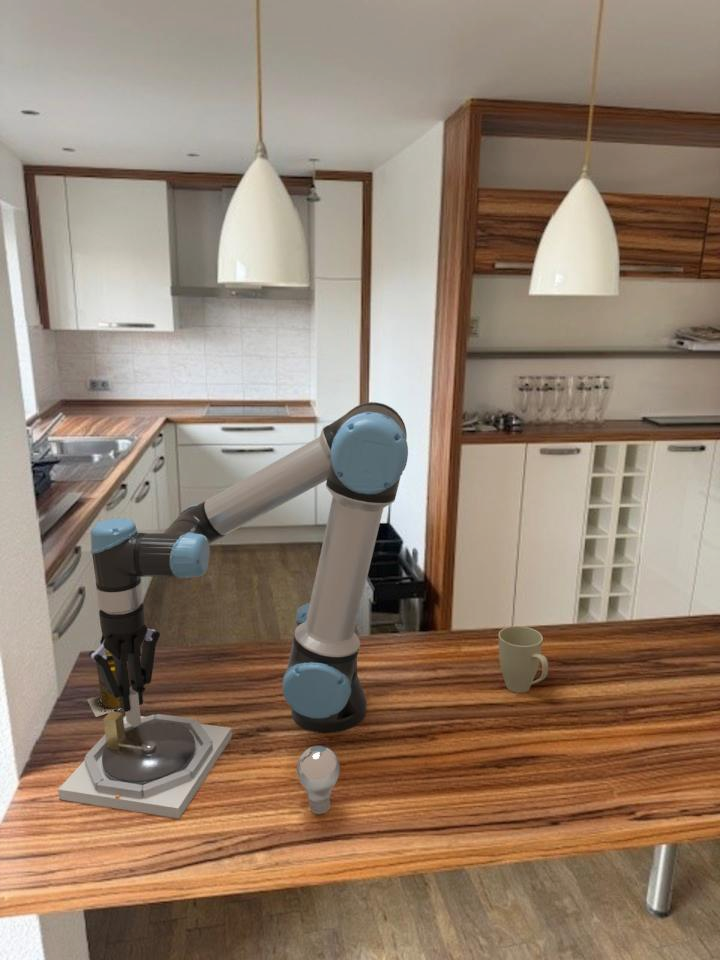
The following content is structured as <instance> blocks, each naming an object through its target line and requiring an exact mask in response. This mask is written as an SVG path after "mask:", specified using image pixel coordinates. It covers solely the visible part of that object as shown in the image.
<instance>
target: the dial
mask: <svg viewBox="0 0 720 960" xmlns="http://www.w3.org/2000/svg"><path fill="white" fill-rule="evenodd" d="M123 718H124V715H123V712H119V711H114V712H112V711H110V712H109V713H107V715H105V717H104V718H103V728H104V735H105V737H106V745H107V747H106V749H105V750H104V753H103V756H102V764H103V770H104V772H105V774H106V775H107V776H108V777H109V778H110V779H111V780H113V781H119V782H126V783H133V784H139V785H145V784H147V783H150V782H153V781H155V780H158V779H161V778H163V777H166V776H169V775H171V774H174V773H177V772H179V771H182V770H183V769H184V768H185V767H186V766H187V765H188V764H189V763H190V762H191V761H192V759H193V757H194V754H195V750H196V749H195V739H194V736H193V734H192V733H191V732H190V731H189V730H188V729H186V728H184V727H182V726H180V725H176V724H171V723H152V724H146V725H142V726H138V727H135V728H133V729H130V730H128V731H126V732H125V729H124V720H123Z"/></svg>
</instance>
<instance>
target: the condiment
mask: <svg viewBox="0 0 720 960" xmlns="http://www.w3.org/2000/svg"><path fill="white" fill-rule="evenodd" d="M106 655H107V659H106V661H107V662H108V664H109V666H110V668H111V671H112V673H113V676H114V678H115V680H116V674H115V665H114V659H113V657H112V654H111V653H110V652H109V651H107V650H106ZM127 668H128V662H127ZM96 669H97V675H98V676H97V677H98V684H99V685H98V686H99V692H100V695H98V696H96V697H91V698H88V699H86V700H87V703H88V704H89V705H88V706H89V707H90V709H91V711H92V712H93V715H94V717H95V718H98V717H100V716H104V715H106V714H108V713H109V712H110V711H111V710H110V709H118V710H117V711H120V709H121V707H120V698H119V697H118V698H115V697H114V696H112V695H111V694H110V693H108V691H107V688H106V686H105V684H104V681H103V679H102V676H101V674H100V672H99V669H98V667H97V666H96ZM128 677H129V669H128ZM129 687H131V688H132V686H131V685H130V678H129ZM100 699H101V701H102V702H101V701H100ZM98 701H99V702H98ZM99 704H100V705H99ZM101 704H102V705H101ZM101 708H102V709H103V708H105V710H106V709H107V711H106V712H104V711H105V710H104V709H103V710H102V712H101V711H99V710H100V709H101ZM98 709H99V710H98ZM108 710H109V711H108ZM121 710H122V709H121ZM112 712H115V711H114V710H112Z"/></svg>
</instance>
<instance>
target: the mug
mask: <svg viewBox="0 0 720 960" xmlns="http://www.w3.org/2000/svg"><path fill="white" fill-rule="evenodd" d="M543 641H544V640H543V635H542V633H540V632H539V631H538V630H536V629H534V628H531V627H528V626H521V625H512V626H507V627H503V628H502V629H500V631H498V652H499V653H498V655H499V666H500V668H501V674H502V676H503V679H504V683H505V686H506V688H507V689H508V691H511V692H512V693H514V694H515V693H516V694H524V693H527V692H528V691H530V690H531V686H532V685H535V684H537V683H540V682H542V681H543V680H545V678H546V677H547V675H548V673H549V662H548V659H547V657H546V656H544V654H541V653H542V647H543ZM540 663H541V669H542V670H541V676H540V677H539V678H537V679H535V676H536V675H537V672H538V670H539V667H540ZM534 679H535V680H534Z"/></svg>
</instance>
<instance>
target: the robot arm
mask: <svg viewBox="0 0 720 960" xmlns="http://www.w3.org/2000/svg"><path fill="white" fill-rule="evenodd" d="M407 433H408V432H407V429H406V425H405V422H404V420H403V417H401V415H400V414H399V413H398V412H397V411H396V409H394V408H393V407H391V406H389V405H387V404H385V403H382V402H374V401H371V402H364V403H362V404H358V405H356V406H355V407H353V408H352V409H350V410H349V411H348V412H347V413H345V414H344V415H342V416H341V417H339V418H338V419H337V420H335V421H333V422H331V423H330V424H328V425H326V426H324V427H323V428H322V429H321V431H320V435H319V436H318V437H317V438H315V439H313V440H311V441H309V442H308V443H306V444H304V445H302V446H300V447H299V448H297V449H295V450H293V451H292V452H290V453H288V454H287V455H285V456H282V457H280V459H277V460H276V461H274V462H272V463H270V464H269V465H267V466H264V467H263V468H262V469H259V470H258V471H256V472H254V473H253V474H251V475H248V476H247V477H245V478H243V479H241V480H240V481H237V482H236V483H234V484H232V485H231V486H229V487H227V488H225V489H224V490H222V491H220V492H218V493H216V494H215V495H213V496H211V497H210V498H207V499H205V500H204V501H203V502H201V503H197V504H196V503H195V504H192V505H190V506H189V507H187V508H186V509H184V510H183V511H181V512H180V513H179V514H178V516H177V518H176V519H175V520H174V521H173V522H172V523H171V524H170V525H169V527H167V528H166V529H165V531H164V532H155V533H153V532H151V533H148V532H138V528H137V525H136V523H135V522H134V520H132V519H126V518H125V517H123V518H121V517H119V518H109V519H108V518H107V519H105V520H102V521H99V522H97V523H95V525H93V526H92V528H91V530H90V542H91V543H90V544H91V545H90V546H91V548H90V554H92V563H93V564H92V565H93V570H94V578H95V588H96V597H97V605H98V608H99V611H98V615H99V616H98V617H99V623H100V630H101V634H102V635H101V638H100V645H99V646H98V647H97V649H96V650H95V651H94V650H91V651H90V652H89V653H88V657H89V658H90V659H92V661H94V662H95V664H96V668H97V667H98V669H99V672H100V674H101V676H102V679H103V681H104V684H105V686H106V688H107V691H108V693H110V694H111V695H112V696H114V697H115V698H118V697H119V698H120V707H121V710H122V711H124V712H125V713H124V714H125V716H126V722H128V723H129V724H130V725H132V726H133V727H136V726H138V725H140V724H141V716H142V715H141V708H140V707H141V706H142V705H143V703H144V696H143V693H144V692H145V690H146V687H145V686H146V685H149V684H150V683H152V677H153V669H154V662H155V654H156V646H157V643H158V642H159V641H158V640H160V639H159V638H160V636H161V633H160V632H159V631H158V630H155V629H154V628H152V627H150V628H148V626H147V624H146V616H145V605H144V603H143V602H144V595H143V587H142V586H143V585H142V577H144V578H145V577H151V578H178V579H186V578H200V577H202V576H203V575H205V573H206V572H207V570H208V566H209V563H210V557H211V556H210V555H211V554H210V551H211V550H210V544H213V543H215V542H216V541H218V540H220V539H221V538H223V537H225V536H227V535H229V534H230V533H233V532H234V531H235V530H237V529H239V528H241V527H243V526H245V525H247V524H249V523H250V522H253V521H254V520H256V519H258V518H259V517H262V516H264V515H265V514H267V513H269V512H271V511H272V510H275V509H276V508H278V507H280V506H282V505H284V504H286V503H287V502H289V501H291V500H293V499H294V498H297V497H298V496H300V495H303V494H305V493H306V492H307V491H310V490H311V489H313V488H315V487H317V486H319V485H321V484H322V483H325V482H326V484H325V486H326V489H327V490H328V492H329V493H330V494H331V497H332V499H331V503H330V507H329V513H328V517H327V521H326V527H325V532H324V536H323V540H322V546H321V550H320V554H319V560H318V564H317V568H316V573H315V578H314V581H313V582H314V583H313V587H312V591H311V597H310V600H309V602H308V603H307V602H306V603H305V604H303V605H301V606H300V607H298V609H297V611H296V616H295V617H296V618H295V622H296V627H295V629H294V630H295V631H294V634H293V639H292V644H291V649H290V652H289V653H290V654H289V658H288V662H287V666H286V671H285V673H284V674H283V676H282V680H281V682H282V695H283V698H284V700H285V702H286V703H287V704H288V705H289V706H290V707H291V717H292V719H293V721H294V722H295V723H296V724H297V726H299V727H301V728H303V729H305V730H308V731H311V732H314V733H319V734H321V733H322V734H331V733H333V734H334V733H339V732H343V731H346V730H347V731H348V730H349V729H352V728H355V726H357V725H359V724H360V723H361V722H362V721H363V720H364V718H365V716H366V714H367V698H366V694H365V692H364V690H363V687H362V684H361V681H360V679H359V676H358V656H359V655H358V654H359V650H360V647H361V641H360V639H359V637H358V636H357V623H358V617H359V613H360V609H361V604H362V600H363V596H364V592H365V587H366V584H367V583H366V582H367V579H368V575H369V571H370V567H371V562H372V559H373V554H374V550H375V546H376V541H377V537H378V533H379V528H380V524H381V520H382V515H383V512H384V508H386V507H388V506H389V505H391V504H392V503H394V502H395V501H396V496H397V493H398V489H399V485H400V480H401V478H402V477H401V476H402V475H403V473H404V471H405V469H406V468H407V467H406V466H407V463H408V459H409V458H408V457H409V446H408V441H407V438H408V437H407V436H408V435H407ZM141 646H142V648H141ZM106 650H107V651H109V652H110V653H111V654H112V657H113V659H114V665H115V674H116V680H115V678H114V676H113V673H112V671H111V668H110V666H109V664H108V662H107V661H106V659H107V655H106ZM127 662H128V668H127ZM128 669H129V677H128ZM129 678H130V685H131V687H129Z"/></svg>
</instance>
